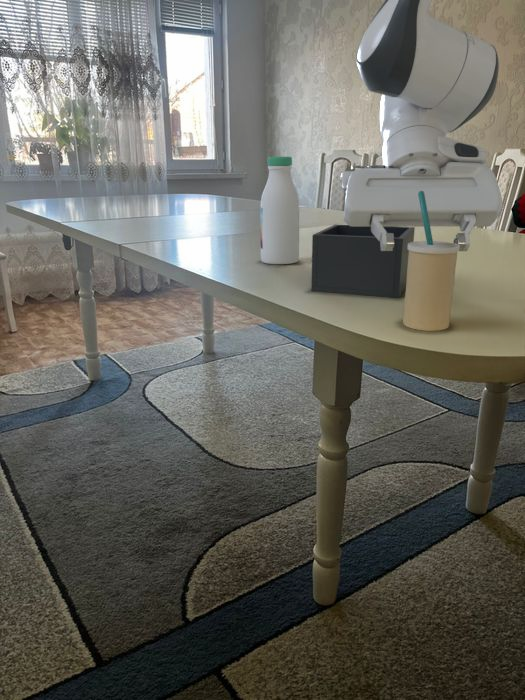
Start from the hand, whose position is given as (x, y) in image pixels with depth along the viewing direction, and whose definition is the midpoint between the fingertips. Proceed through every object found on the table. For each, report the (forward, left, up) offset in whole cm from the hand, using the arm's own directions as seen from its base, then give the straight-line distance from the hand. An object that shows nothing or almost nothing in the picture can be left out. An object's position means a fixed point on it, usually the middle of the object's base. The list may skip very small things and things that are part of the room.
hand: (424, 248), depth 69 cm
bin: (+11, -15, -9) cm, 21 cm away
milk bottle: (+31, -30, -9) cm, 44 cm away
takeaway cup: (-1, +4, -9) cm, 10 cm away
